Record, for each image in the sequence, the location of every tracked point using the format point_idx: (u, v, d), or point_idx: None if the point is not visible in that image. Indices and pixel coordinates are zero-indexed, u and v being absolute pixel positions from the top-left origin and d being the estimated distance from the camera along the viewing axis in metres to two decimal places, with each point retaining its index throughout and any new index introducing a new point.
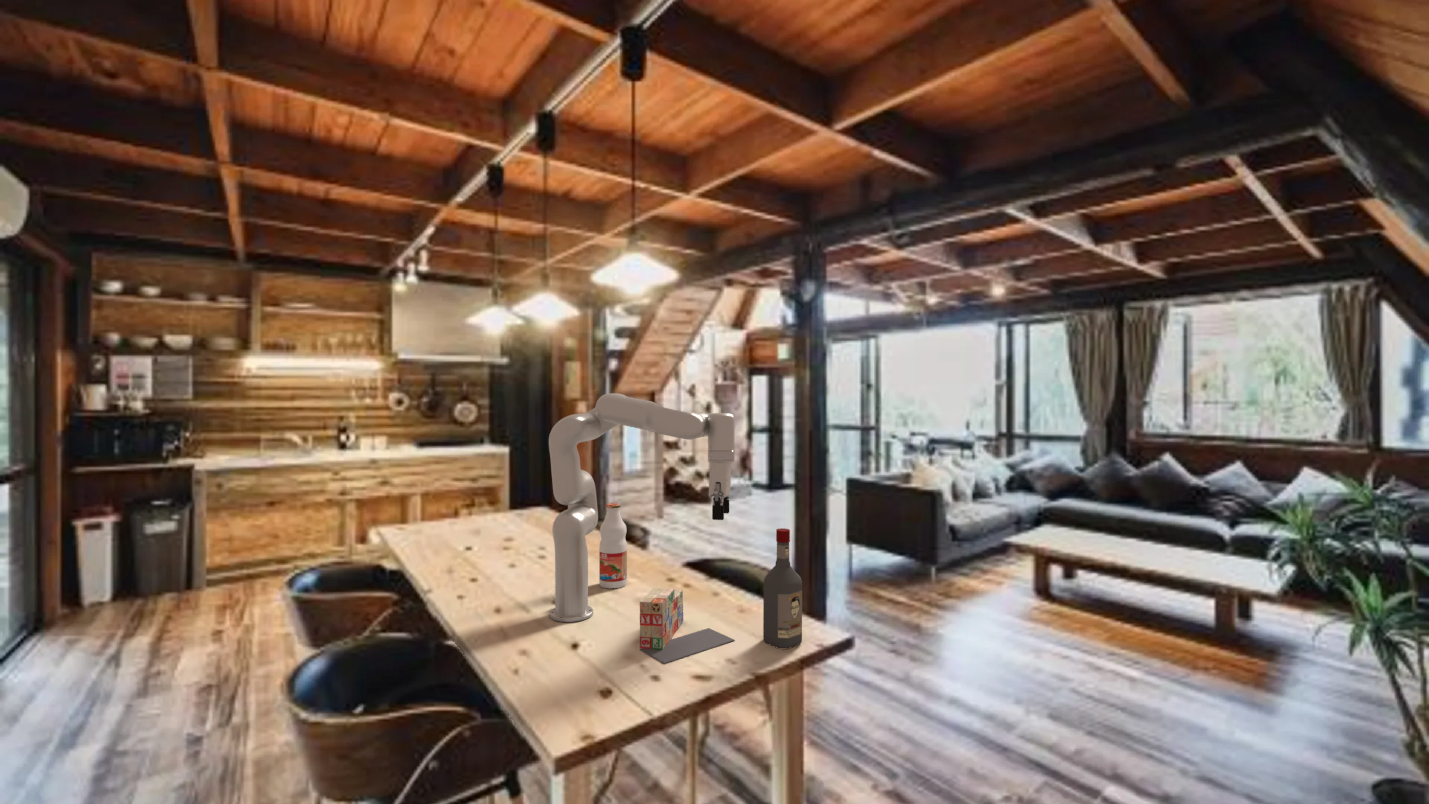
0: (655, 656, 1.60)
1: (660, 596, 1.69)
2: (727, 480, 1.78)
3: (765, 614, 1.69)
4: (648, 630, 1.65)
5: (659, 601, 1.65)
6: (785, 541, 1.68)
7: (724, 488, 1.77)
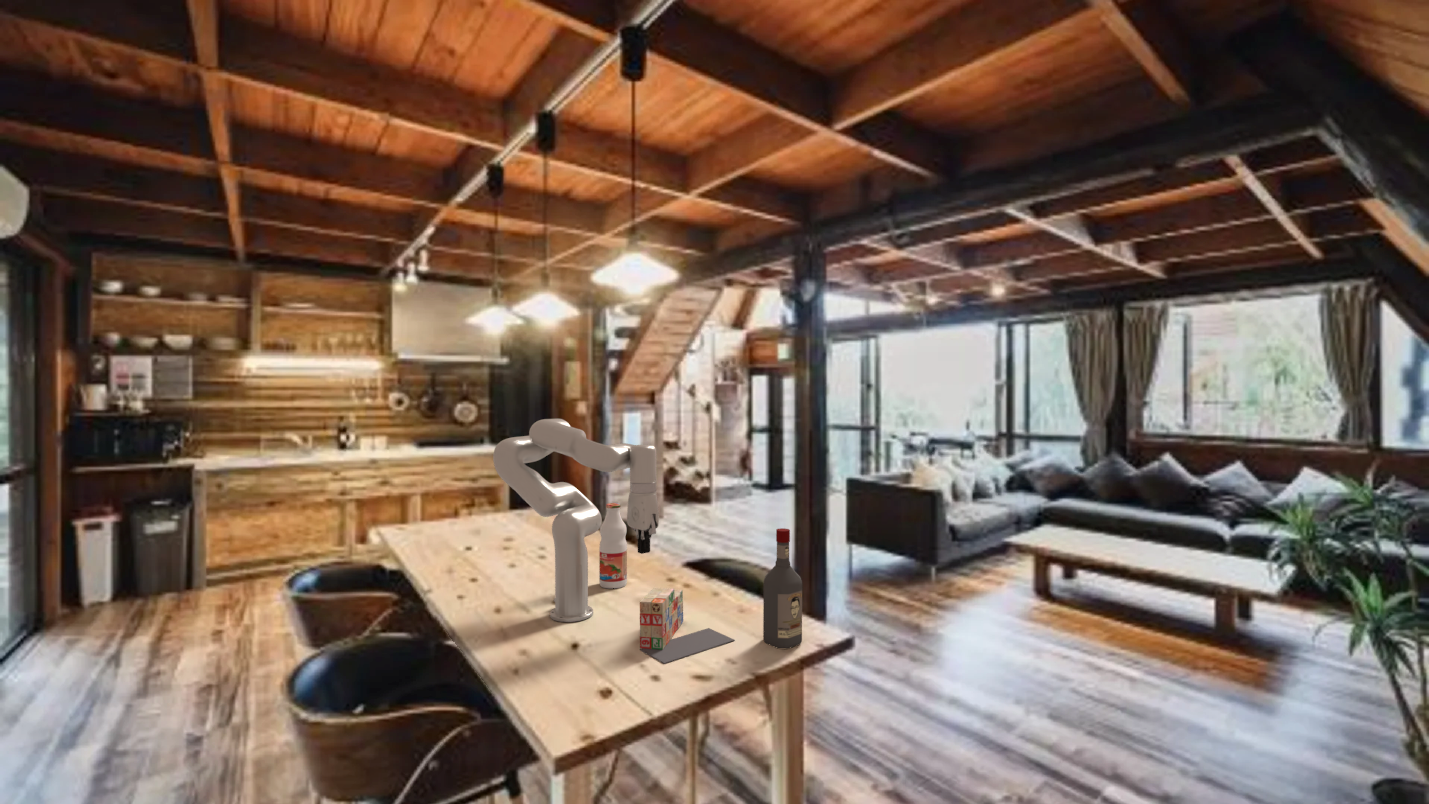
0: (655, 656, 1.60)
1: (660, 596, 1.69)
2: None
3: (765, 614, 1.69)
4: (648, 630, 1.65)
5: (659, 601, 1.65)
6: (785, 541, 1.68)
7: (658, 519, 1.79)
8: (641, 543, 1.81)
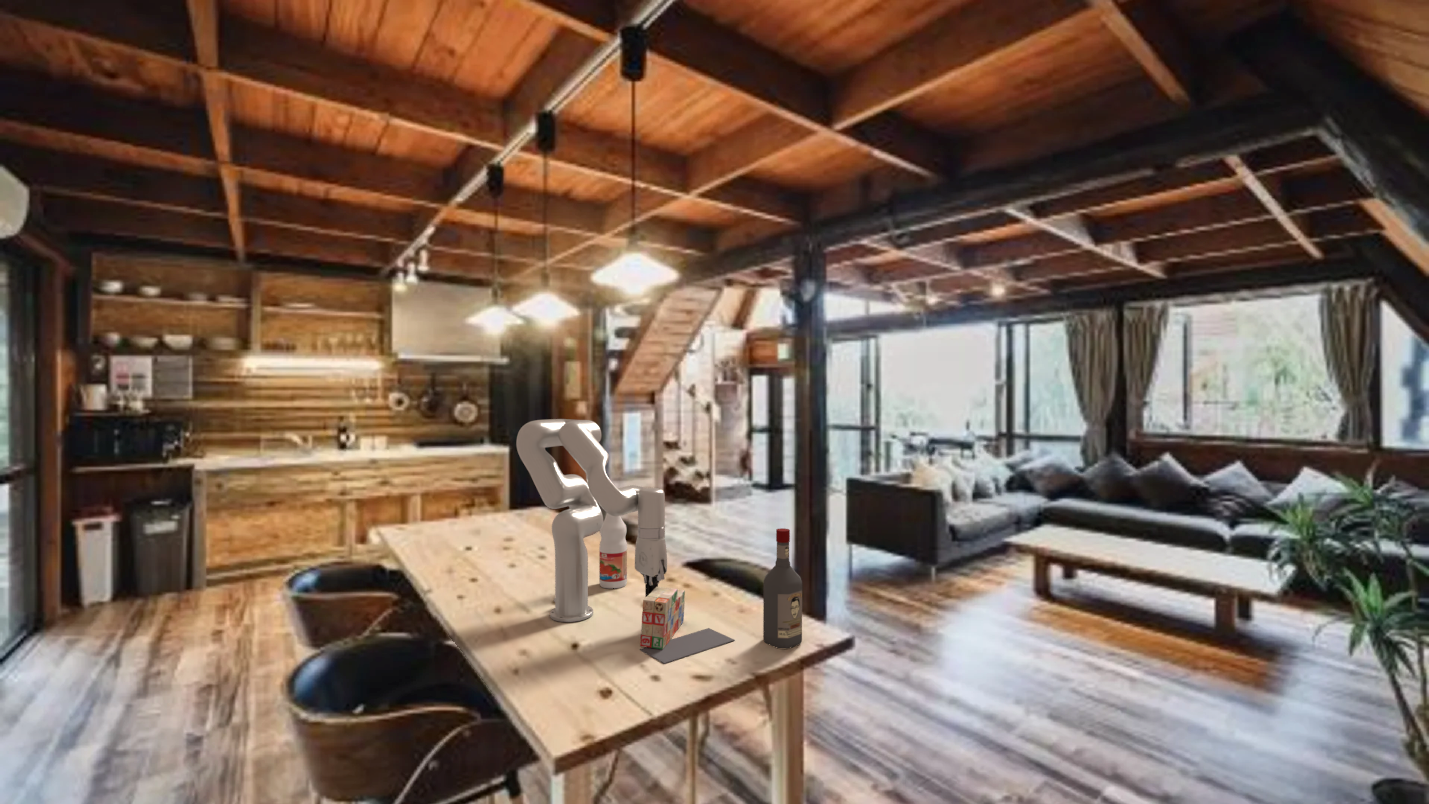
0: (655, 656, 1.60)
1: (663, 596, 1.69)
2: None
3: (765, 614, 1.69)
4: (649, 629, 1.65)
5: (662, 601, 1.65)
6: (785, 541, 1.68)
7: (666, 564, 1.76)
8: (649, 589, 1.78)
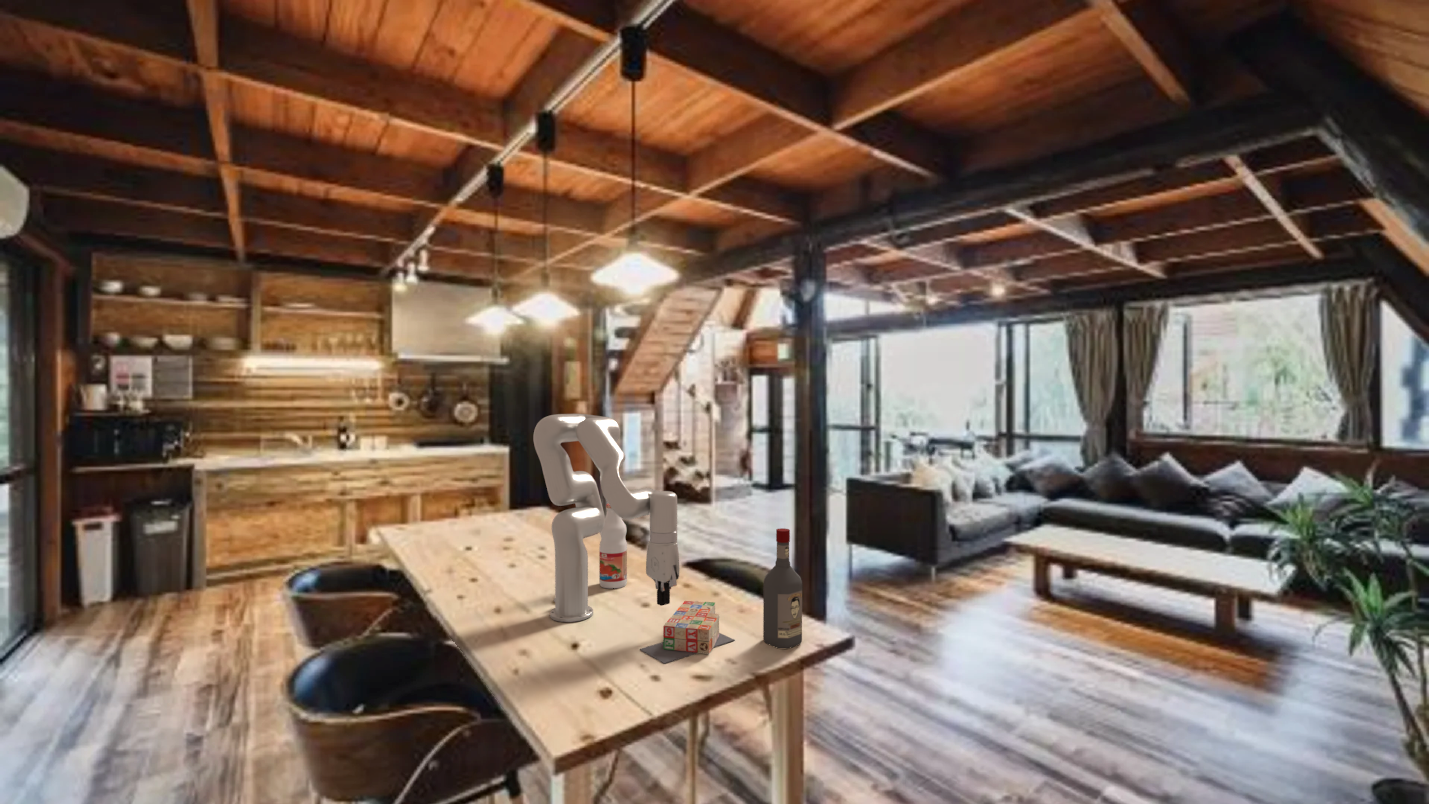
0: (655, 656, 1.60)
1: (713, 640, 1.66)
2: None
3: (765, 614, 1.69)
4: (680, 636, 1.63)
5: (709, 648, 1.62)
6: (785, 541, 1.68)
7: (679, 570, 1.72)
8: (661, 595, 1.73)
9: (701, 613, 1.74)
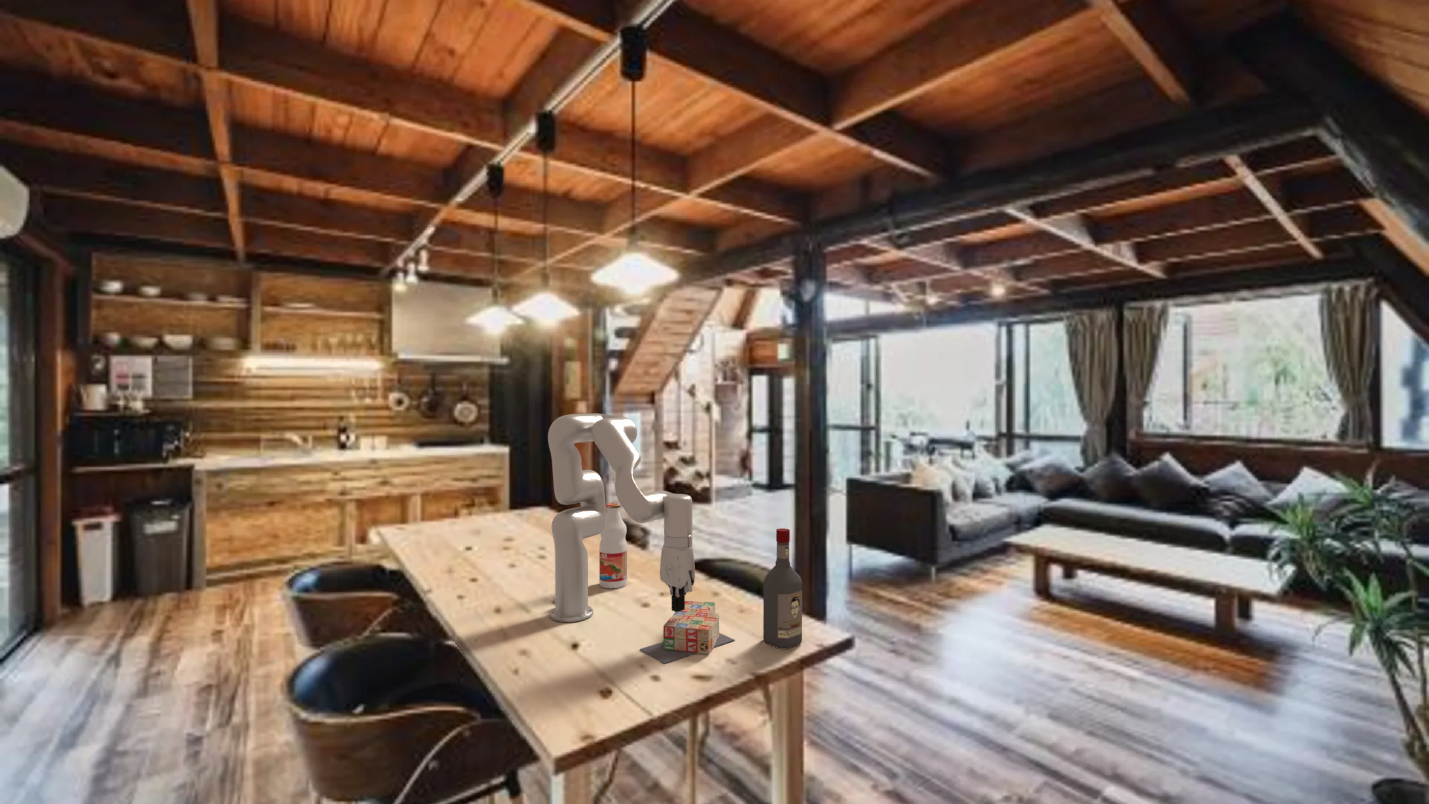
0: (655, 656, 1.60)
1: (713, 640, 1.66)
2: None
3: (765, 614, 1.69)
4: (680, 636, 1.63)
5: (709, 648, 1.62)
6: (785, 541, 1.68)
7: (694, 575, 1.67)
8: (675, 601, 1.68)
9: (701, 613, 1.74)
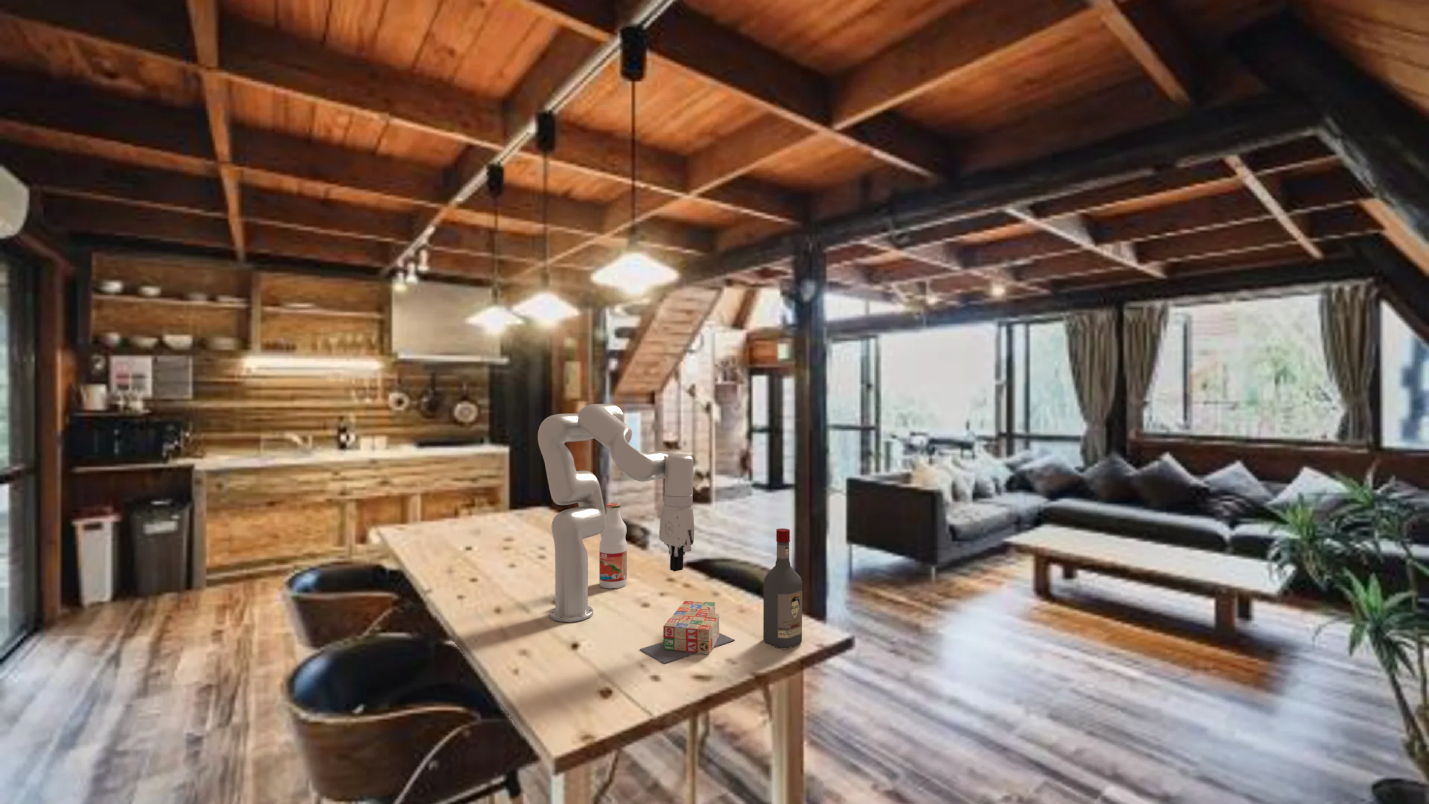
0: (655, 656, 1.60)
1: (713, 640, 1.66)
2: None
3: (765, 614, 1.69)
4: (680, 636, 1.63)
5: (709, 648, 1.62)
6: (785, 541, 1.68)
7: (693, 535, 1.67)
8: (674, 560, 1.68)
9: (701, 613, 1.74)
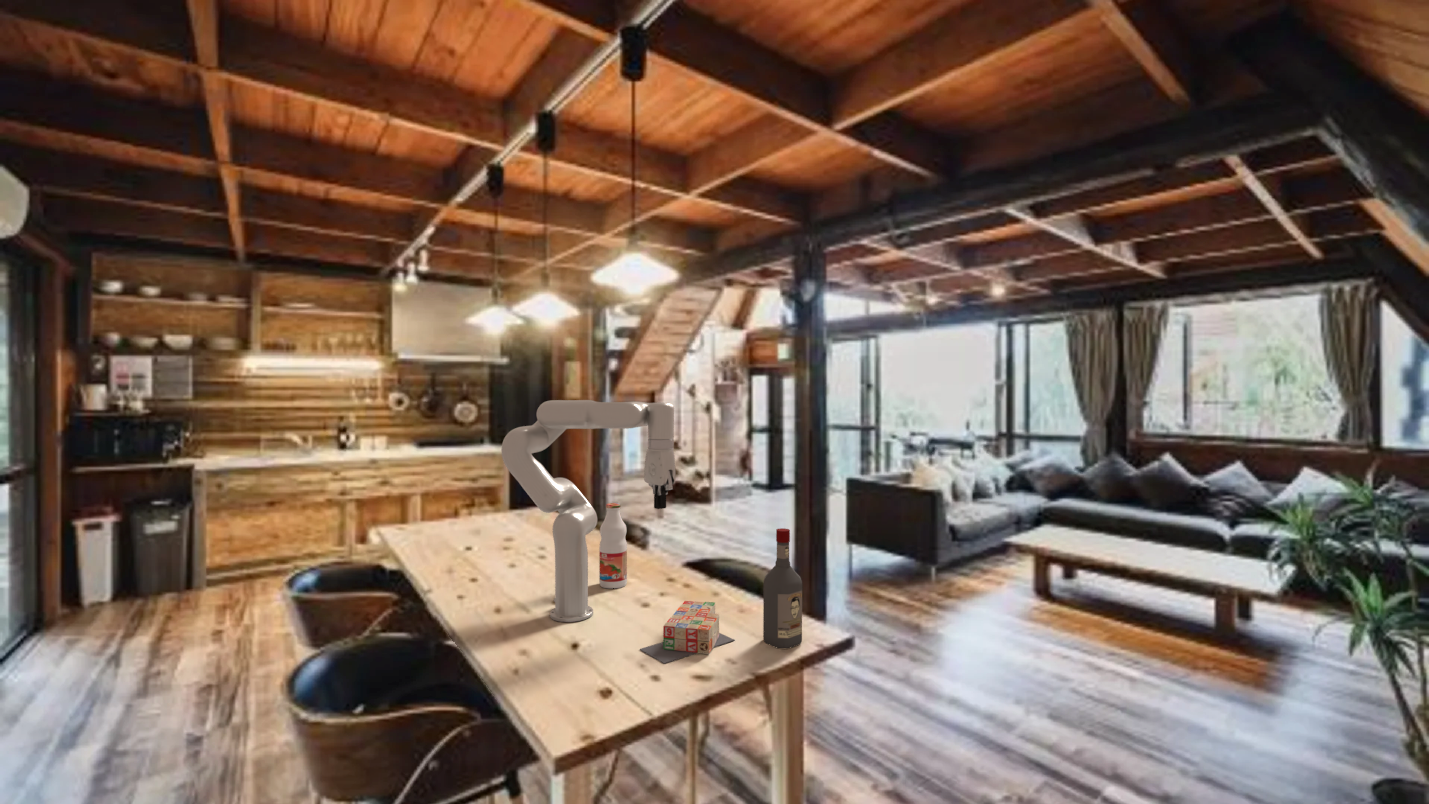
0: (655, 656, 1.60)
1: (713, 640, 1.66)
2: None
3: (765, 614, 1.69)
4: (680, 636, 1.63)
5: (709, 648, 1.62)
6: (785, 541, 1.68)
7: None
8: (657, 498, 1.84)
9: (701, 613, 1.74)
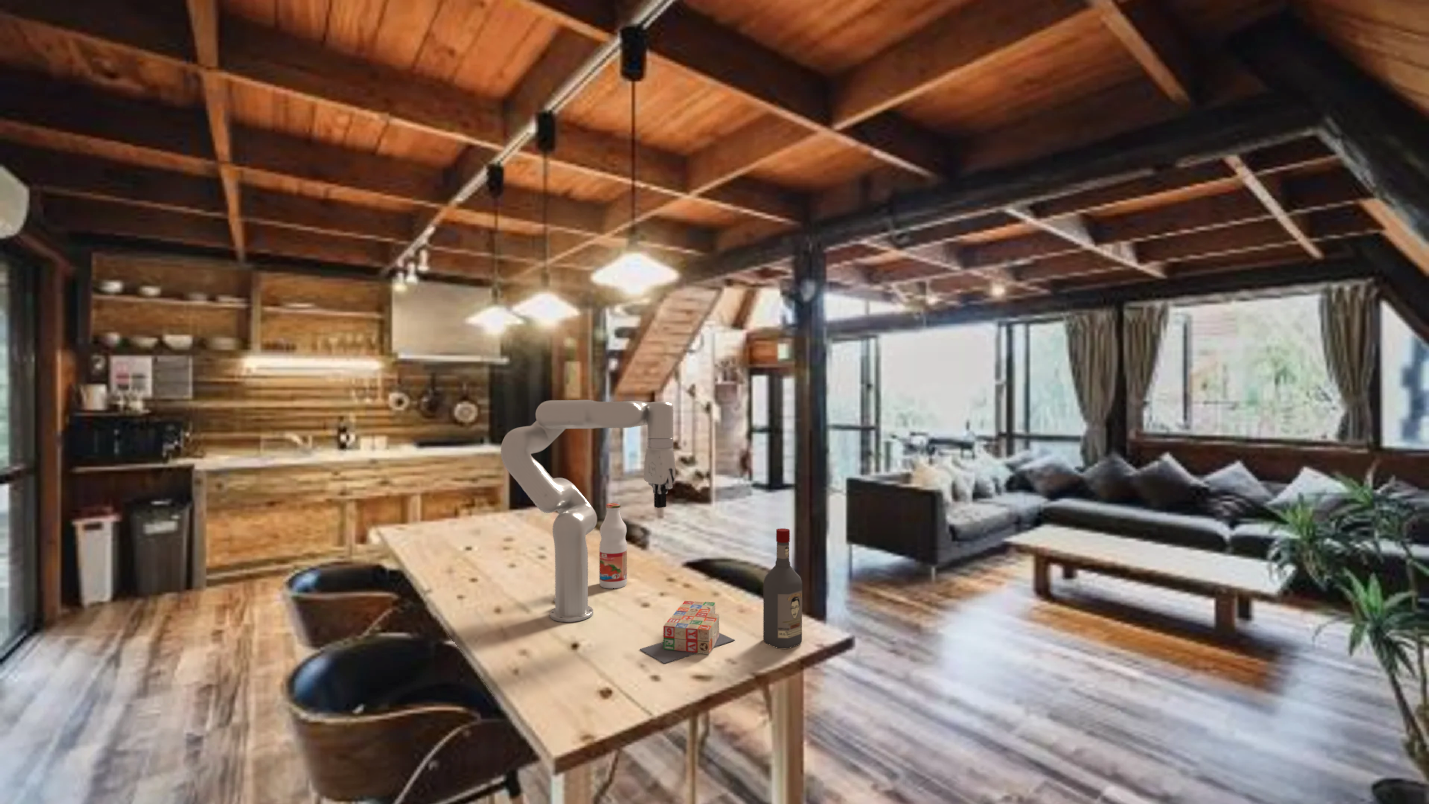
0: (655, 656, 1.60)
1: (713, 640, 1.66)
2: None
3: (765, 614, 1.69)
4: (680, 636, 1.63)
5: (709, 648, 1.62)
6: (785, 541, 1.68)
7: None
8: (658, 497, 1.84)
9: (701, 613, 1.74)
